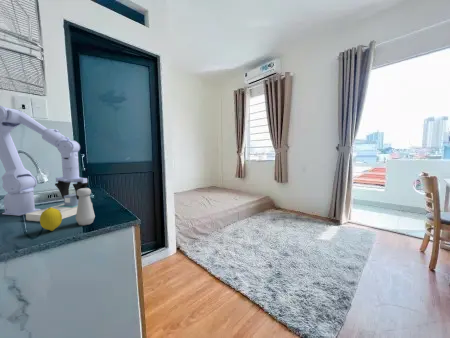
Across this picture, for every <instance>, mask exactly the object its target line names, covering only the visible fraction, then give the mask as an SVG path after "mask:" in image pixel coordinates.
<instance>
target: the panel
mask: <svg viewBox="0 0 450 338" xmlns="http://www.w3.org/2000/svg"><path fill="white" fill-rule="evenodd" d="M51 207H52V208H55V209H57V210H59V211H60V213H61V215H62V220H63V219H66V218H70V217H72V216H76V213H77V207H78V205H76V206H73V207H72V206H64V203H61V204H57V205H54V206H51ZM92 207H93V204H92ZM48 208H49V207H45V208H43V209H41V210H38V211H35V212H31V213H27V214H25V220H26V221H31V222H32V221H33V222H40V216H41V214H42V213H43V212H44V211H45V210H47V209H48ZM93 208H94V207H93Z"/></svg>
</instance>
